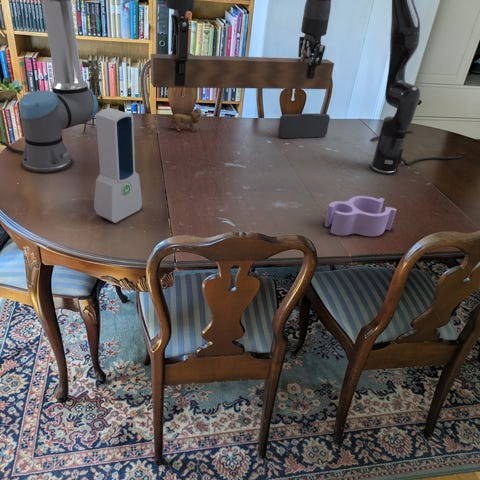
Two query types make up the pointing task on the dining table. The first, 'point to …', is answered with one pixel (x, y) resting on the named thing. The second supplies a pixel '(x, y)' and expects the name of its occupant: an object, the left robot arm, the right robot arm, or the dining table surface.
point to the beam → (240, 72)
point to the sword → (378, 137)
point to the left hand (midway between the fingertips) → (178, 82)
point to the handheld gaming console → (303, 125)
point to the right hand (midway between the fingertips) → (306, 75)
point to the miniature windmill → (94, 75)
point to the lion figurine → (187, 119)
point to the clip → (359, 216)
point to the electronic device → (116, 166)
